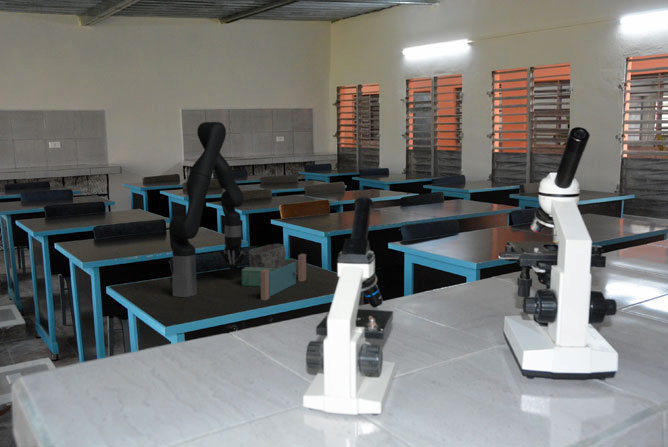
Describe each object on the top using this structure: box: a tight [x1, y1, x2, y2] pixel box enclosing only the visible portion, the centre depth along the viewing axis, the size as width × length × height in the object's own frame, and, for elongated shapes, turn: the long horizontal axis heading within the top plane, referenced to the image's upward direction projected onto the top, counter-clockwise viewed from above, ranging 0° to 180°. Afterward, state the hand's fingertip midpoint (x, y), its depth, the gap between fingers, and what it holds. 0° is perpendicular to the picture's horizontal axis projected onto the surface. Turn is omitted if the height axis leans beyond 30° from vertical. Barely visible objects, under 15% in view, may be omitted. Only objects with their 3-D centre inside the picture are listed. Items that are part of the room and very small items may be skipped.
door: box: [269, 261, 298, 298], centre depth 274 cm, size 25×3×11 cm, turn 157°
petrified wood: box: [248, 243, 287, 271], centre depth 303 cm, size 19×17×15 cm
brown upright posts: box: [260, 253, 307, 301], centre depth 277 cm, size 38×2×12 cm, turn 157°
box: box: [241, 266, 274, 287], centre depth 285 cm, size 7×14×8 cm, turn 85°
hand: (233, 272), depth 291 cm, fingers closed
